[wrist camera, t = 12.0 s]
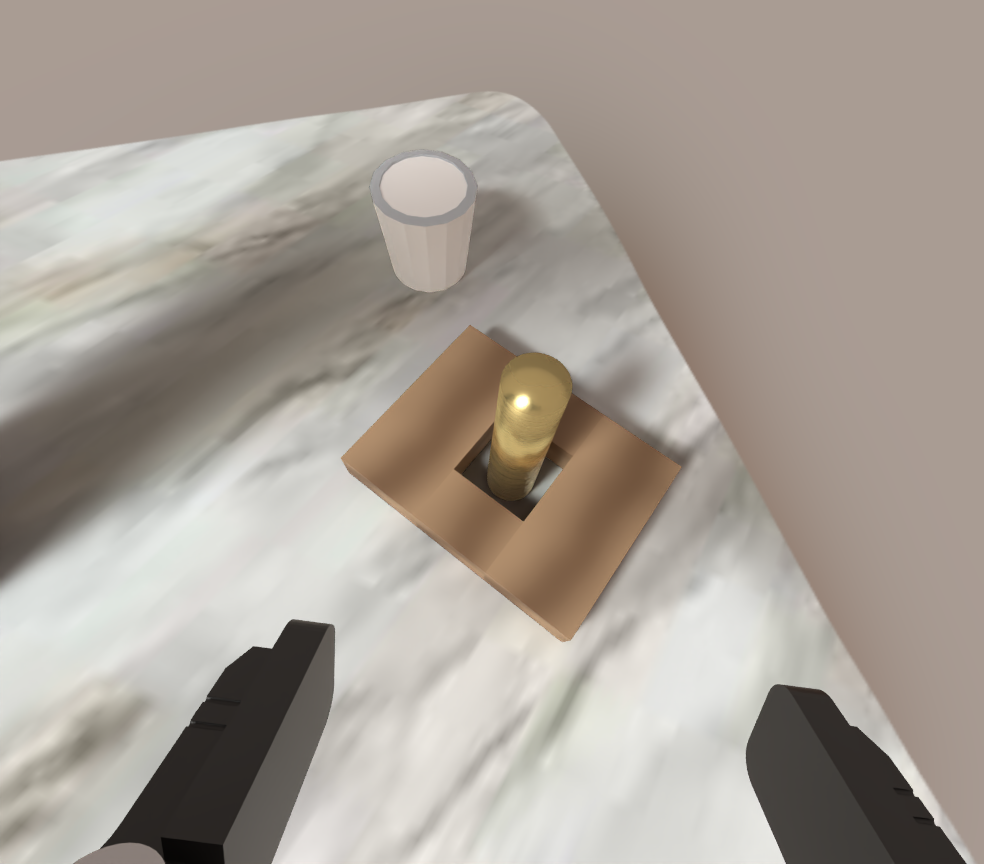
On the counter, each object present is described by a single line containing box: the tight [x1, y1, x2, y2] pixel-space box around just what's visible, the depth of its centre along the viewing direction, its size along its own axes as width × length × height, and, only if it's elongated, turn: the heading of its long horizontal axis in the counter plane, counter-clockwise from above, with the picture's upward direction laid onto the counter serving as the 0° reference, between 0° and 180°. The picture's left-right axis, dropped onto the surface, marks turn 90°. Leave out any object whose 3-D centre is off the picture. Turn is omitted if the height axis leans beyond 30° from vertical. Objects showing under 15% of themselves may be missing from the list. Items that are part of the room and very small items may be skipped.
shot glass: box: [369, 149, 477, 292], centre depth 36 cm, size 7×7×7 cm
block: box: [341, 325, 681, 642], centre depth 31 cm, size 16×12×2 cm
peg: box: [487, 353, 572, 501], centre depth 27 cm, size 3×3×12 cm
